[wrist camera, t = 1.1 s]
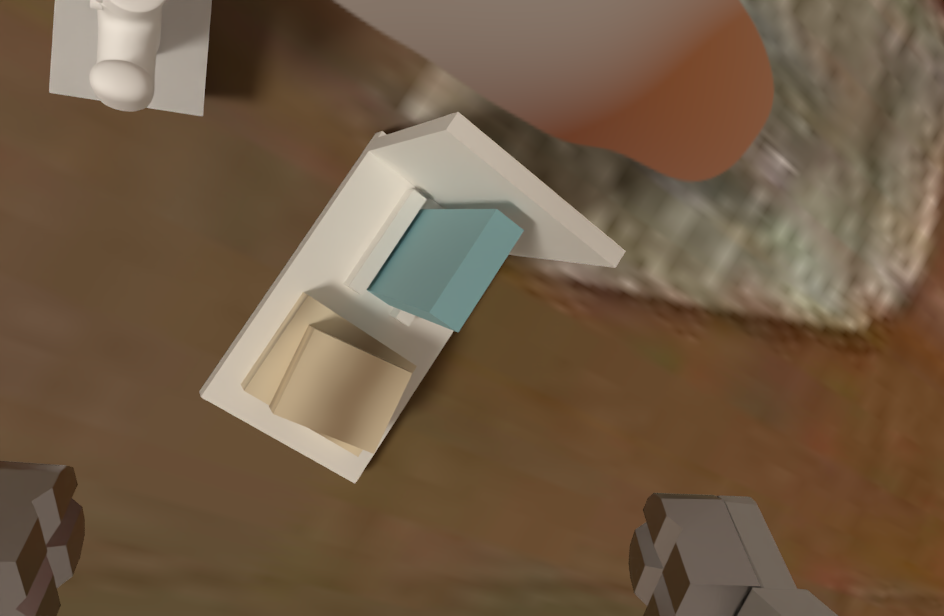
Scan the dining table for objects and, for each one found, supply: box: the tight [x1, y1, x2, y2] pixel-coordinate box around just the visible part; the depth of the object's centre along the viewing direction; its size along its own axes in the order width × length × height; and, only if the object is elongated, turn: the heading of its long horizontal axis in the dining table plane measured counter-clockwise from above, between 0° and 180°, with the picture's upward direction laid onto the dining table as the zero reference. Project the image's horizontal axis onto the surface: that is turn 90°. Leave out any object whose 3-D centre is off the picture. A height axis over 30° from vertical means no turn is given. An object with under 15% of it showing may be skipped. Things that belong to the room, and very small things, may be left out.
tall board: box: [367, 209, 524, 332], centre depth 43 cm, size 2×6×12 cm, turn 145°
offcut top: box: [269, 325, 412, 454], centre depth 46 cm, size 6×5×2 cm
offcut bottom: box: [241, 292, 417, 457], centre depth 47 cm, size 8×6×2 cm
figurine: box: [49, 0, 212, 116], centre depth 36 cm, size 7×9×15 cm
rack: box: [199, 112, 625, 483], centre depth 43 cm, size 11×19×15 cm, turn 145°
